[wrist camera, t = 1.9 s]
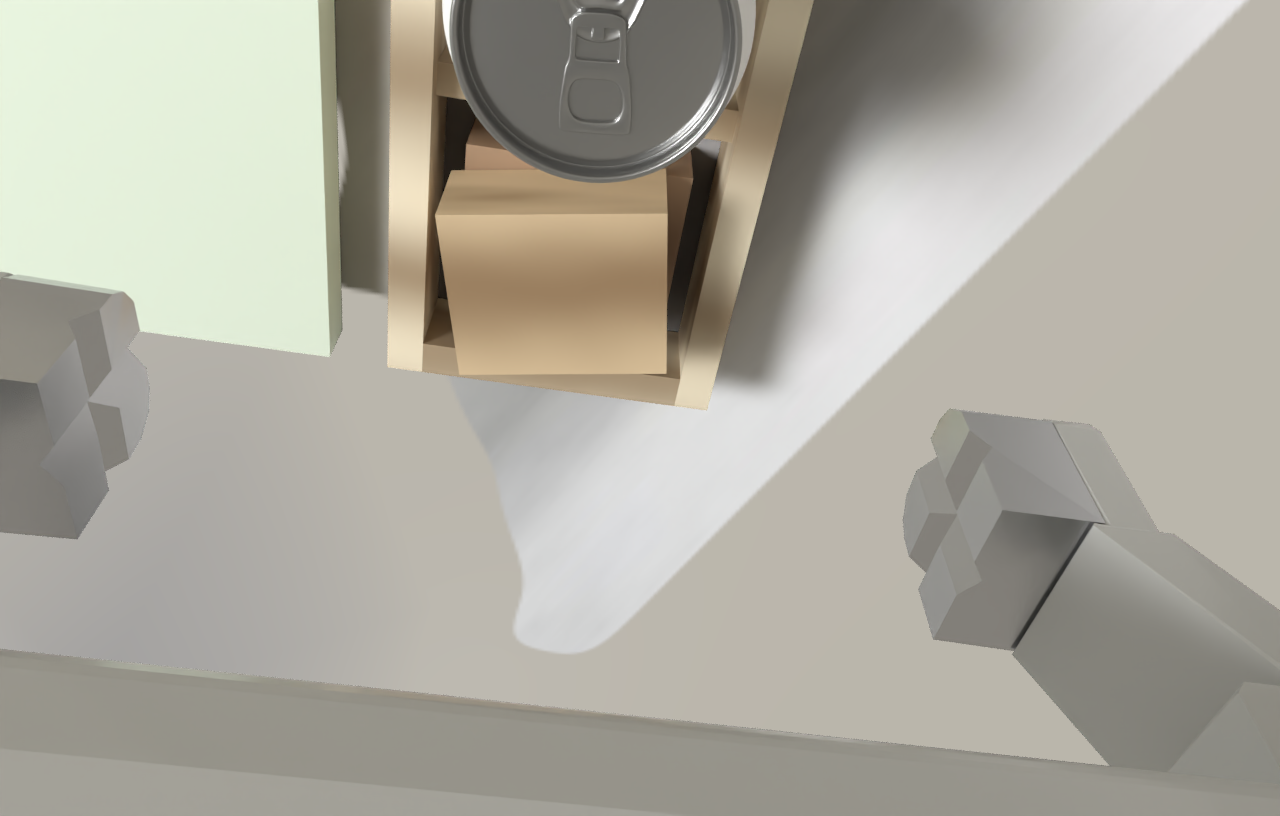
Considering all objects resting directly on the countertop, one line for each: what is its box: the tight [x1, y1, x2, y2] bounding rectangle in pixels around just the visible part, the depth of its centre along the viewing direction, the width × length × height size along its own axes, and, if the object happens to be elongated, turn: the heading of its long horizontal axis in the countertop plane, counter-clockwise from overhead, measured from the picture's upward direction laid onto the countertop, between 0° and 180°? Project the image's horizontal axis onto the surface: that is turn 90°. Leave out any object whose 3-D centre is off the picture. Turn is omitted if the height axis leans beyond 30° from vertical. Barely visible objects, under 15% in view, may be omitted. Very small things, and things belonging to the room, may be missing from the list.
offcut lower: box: [465, 117, 693, 302], centre depth 33 cm, size 6×7×3 cm
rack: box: [387, 0, 814, 410], centre depth 30 cm, size 20×11×3 cm, turn 171°
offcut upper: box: [435, 169, 668, 375], centre depth 31 cm, size 6×7×3 cm
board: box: [0, 0, 342, 357], centre depth 32 cm, size 14×14×2 cm
